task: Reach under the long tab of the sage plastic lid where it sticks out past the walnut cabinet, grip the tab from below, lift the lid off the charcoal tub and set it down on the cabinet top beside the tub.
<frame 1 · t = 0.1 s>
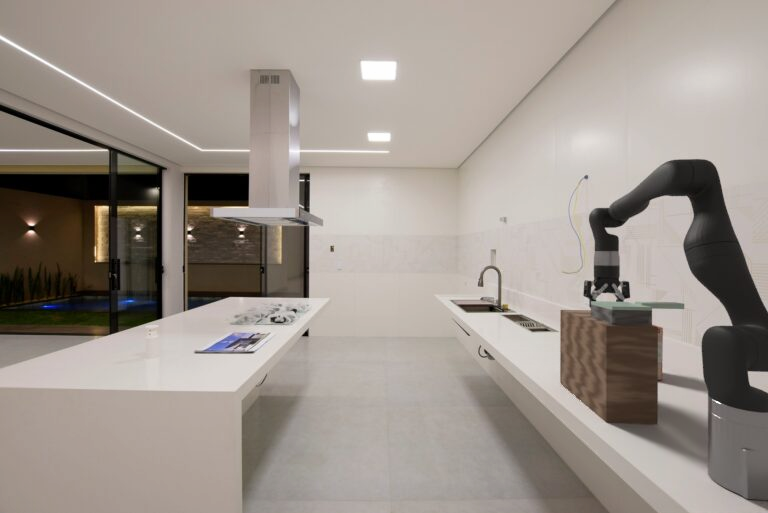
hand: (606, 310, 112), 29 cm above the table, tool pointing down, fingers open, 8 cm apart
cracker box: (644, 374, 130), on the table
lid: (619, 307, 98), point 32 cm above the table, touching cabinet
cabinet: (602, 401, 105), on the table
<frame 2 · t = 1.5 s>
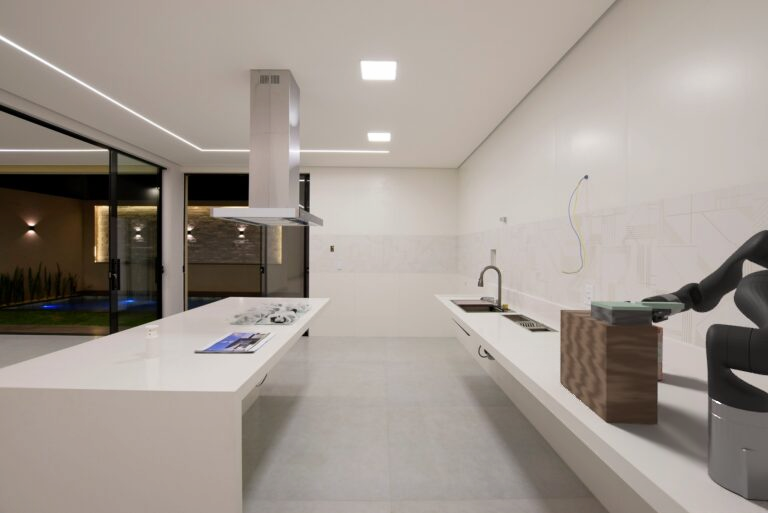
hand: (622, 315, 106), 28 cm above the table, tool horizontal, fingers open, 8 cm apart
nothing on the table moved.
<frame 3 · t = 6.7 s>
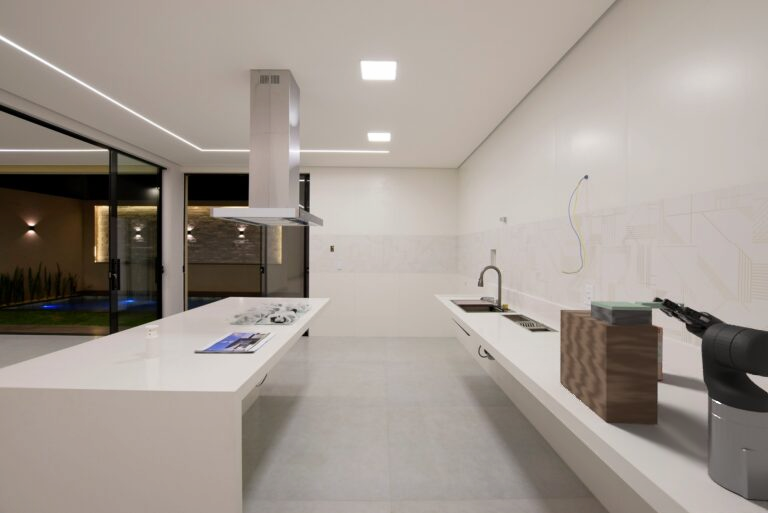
hand: (659, 300, 97), 35 cm above the table, tool pointing upward, fingers closed on lid, 3 cm apart
lid: (619, 307, 98), point 32 cm above the table, touching cabinet, gripper
everything else where it was.
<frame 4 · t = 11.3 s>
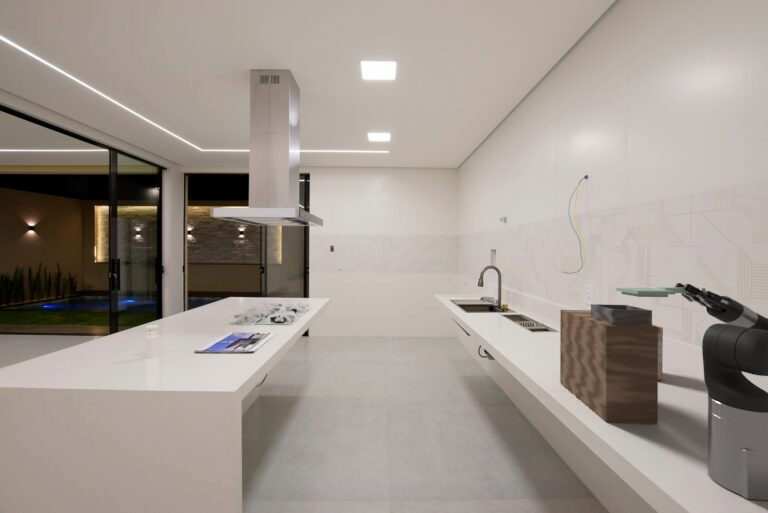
hand: (681, 285, 104), 39 cm above the table, tool pointing upward, fingers closed on lid, 3 cm apart
lid: (643, 292, 105), point 36 cm above the table, touching gripper
everything else where it was.
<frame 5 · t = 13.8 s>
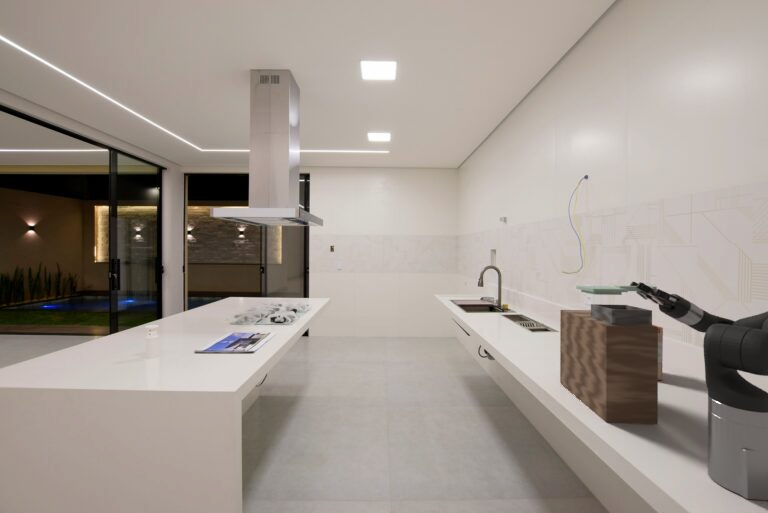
hand: (635, 284, 111), 38 cm above the table, tool pointing upward, fingers closed on lid, 3 cm apart
lid: (600, 290, 112), point 36 cm above the table, touching gripper
everything else where it was.
when the fingers open (33 cm above the table, at t = 16.1 s): lid drops 1 cm, resting on cabinet.
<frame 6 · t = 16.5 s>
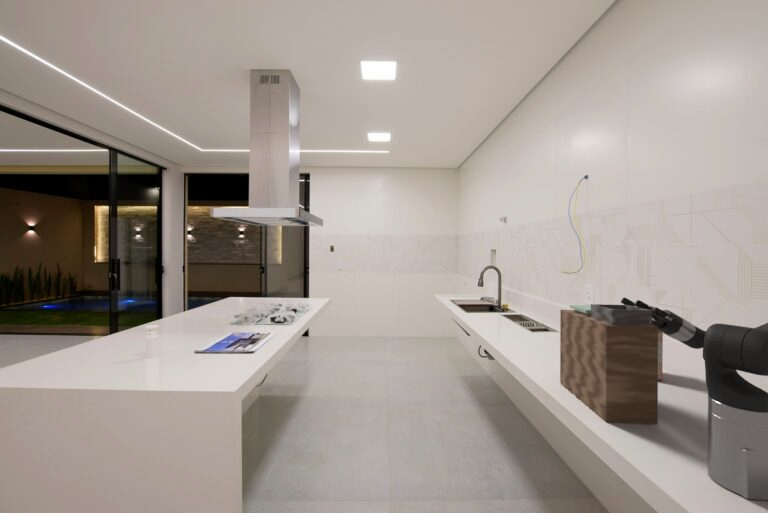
hand: (629, 301, 111), 33 cm above the table, tool pointing upward, fingers open, 6 cm apart
lid: (593, 310, 112), point 29 cm above the table, touching cabinet
everything else where it was.
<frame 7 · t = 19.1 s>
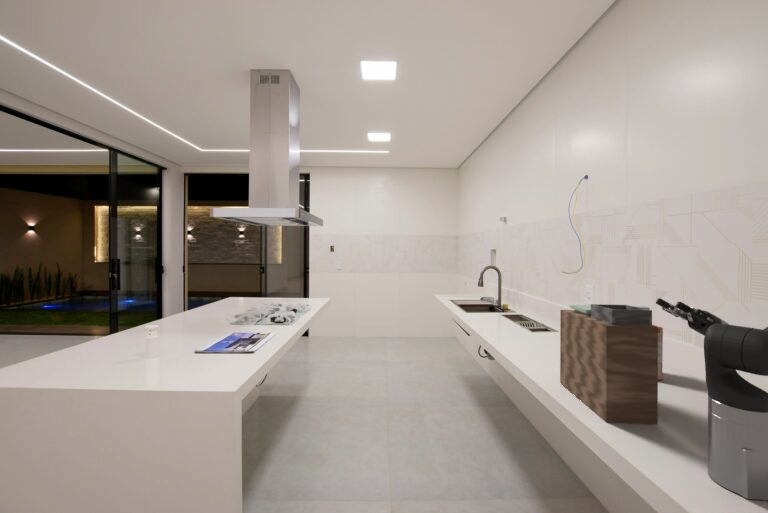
hand: (667, 302, 110), 32 cm above the table, tool pointing upward, fingers open, 8 cm apart
nothing on the table moved.
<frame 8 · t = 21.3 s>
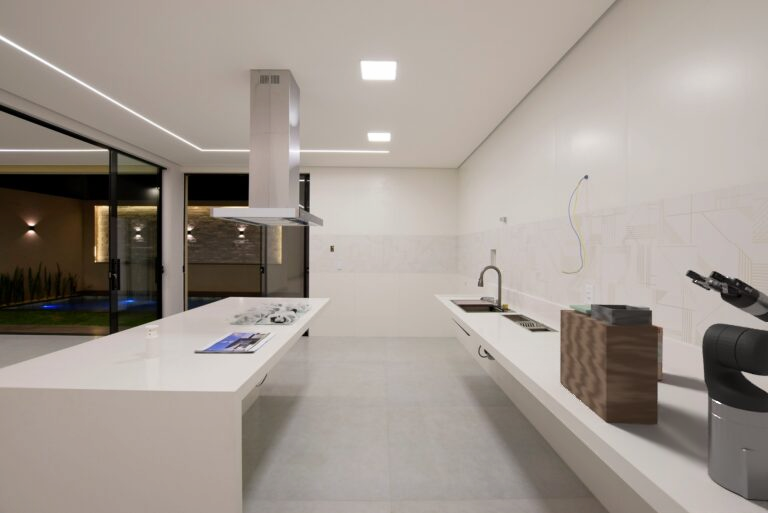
hand: (699, 272, 103), 43 cm above the table, tool pointing upward, fingers open, 8 cm apart
nothing on the table moved.
at the end: lid inside the target area (0.1 cm from its centre), point 29.0 cm above the table; lid tilted 0°; the gripper is holding nothing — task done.
